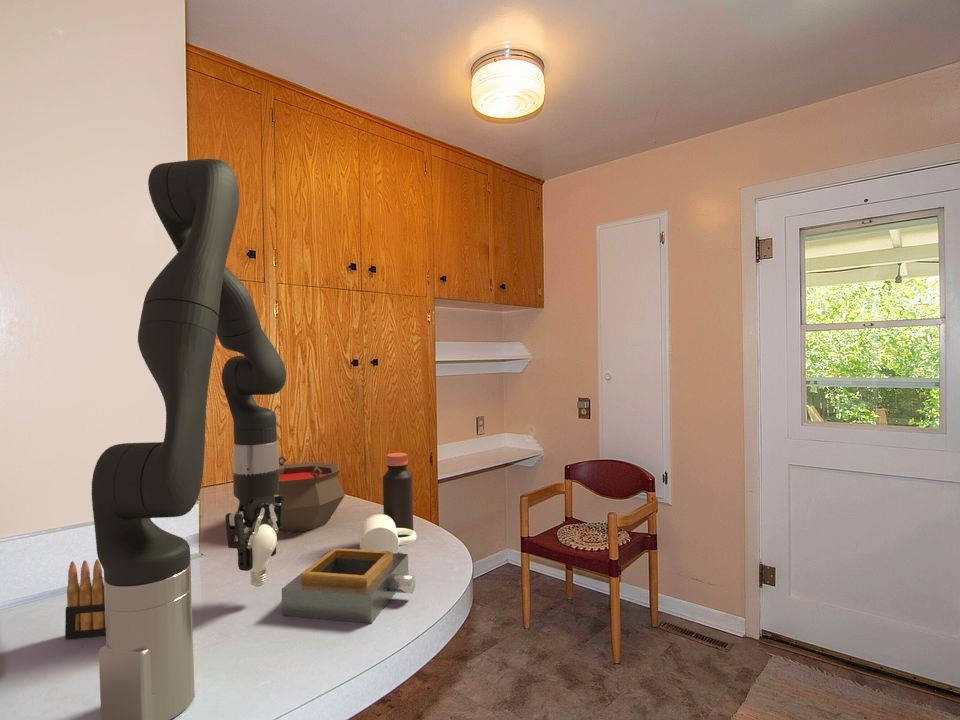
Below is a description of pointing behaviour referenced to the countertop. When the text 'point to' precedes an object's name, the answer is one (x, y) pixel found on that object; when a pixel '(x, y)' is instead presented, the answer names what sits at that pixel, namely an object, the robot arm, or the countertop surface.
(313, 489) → the brown cauldron
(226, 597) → the countertop surface
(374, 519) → the mug
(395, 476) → the bottle
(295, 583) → the grey shallow box
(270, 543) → the lightbulb
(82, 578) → the ammunition clip
